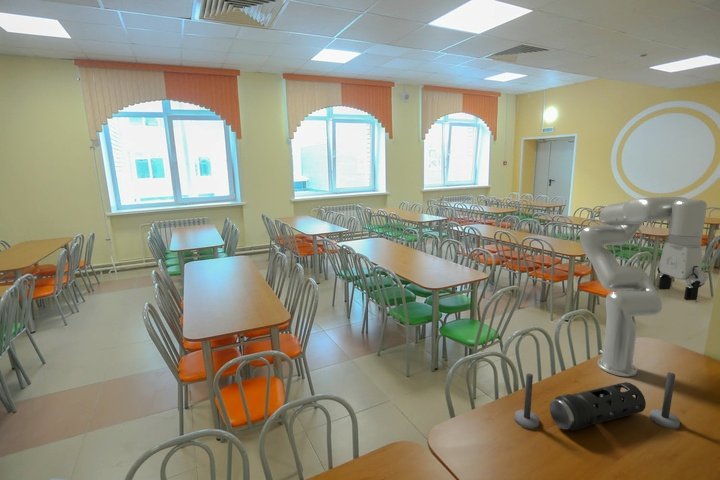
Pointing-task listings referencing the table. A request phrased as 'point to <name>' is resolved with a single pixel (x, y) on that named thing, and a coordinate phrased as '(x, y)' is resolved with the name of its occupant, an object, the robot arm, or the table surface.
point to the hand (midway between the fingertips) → (676, 294)
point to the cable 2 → (666, 407)
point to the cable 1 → (527, 408)
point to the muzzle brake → (596, 406)
